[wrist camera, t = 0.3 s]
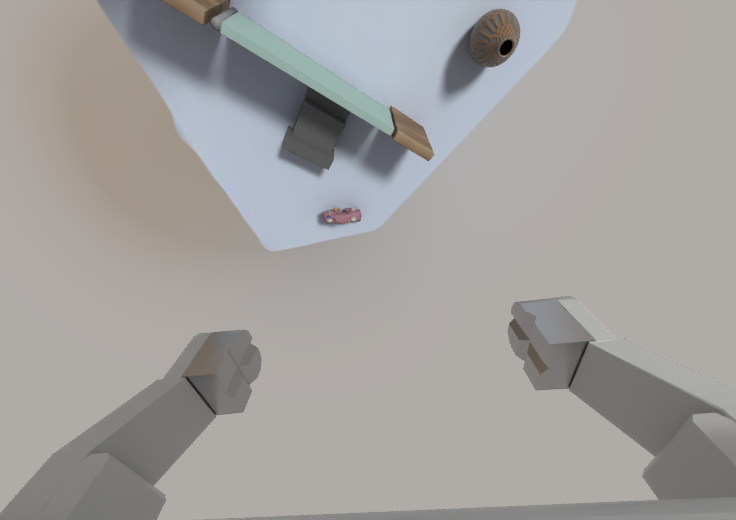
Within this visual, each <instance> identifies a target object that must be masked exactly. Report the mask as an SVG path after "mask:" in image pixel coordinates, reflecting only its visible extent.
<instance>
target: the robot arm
mask: <svg viewBox="0 0 736 520" xmlns="http://www.w3.org/2000/svg"><path fill="white" fill-rule="evenodd" d="M511 313H512V315H513V316H514V319H513V320H512V321H511V322H510V323H509V328H508V335H509V341H510V344H511V347H512V349H513V351H514V352H515V354H516V356H518V357H519V358H521V359H522V360H524V361H525V364H524V368H523V369H524V371H525V372H526V374H527V376H528V377H529V379H530V381H531V383H532V384H533V386H534V388H535V389H536V390H548V389H569V388H570V389H569V391H571V392H572V393H573V394H575V395H576V396H577V397H579V398H580V399H581V400H582V401H584V402H585V403H586V404H588V405H589V406H590V407H592V408H593V409H594V410H595V411H597V412H598V413H599V414H601V415H602V416H603V417H605V418H606V419H607V420H609V421H610V422H611V423H612V424H614V425H615V426H616V427H617V428H619V429H620V430H621V431H623V432H624V433H625V434H627V435H628V436H629V437H631V438H632V439H633V440H634V441H636V442H637V443H638V444H640V445H641V446H642V447H643V448H645V449H646V450H647V451H649V452H650V453H651V454H653V455H654V456H655V458H654V459H653V460H652V461H651V462H650V463H649V465H648V466H647V467H646V468H645V469H644V472H643V478H644V479H645V481H646V482H647V483H648V485H649V486H650V488H651V489H652V491H653V492H654V494H655V495H656V496H657V498H658V499H659V500H648V501H625V502H624V501H623V502H600V503H577V504H554V505H531V506H507V507H484V508H461V509H439V510H415V511H392V512H368V513H346V514H323V515H299V516H278V517H277V516H276V517H254V518H230V519H208V520H736V389H734V388H732V387H730V386H728V385H726V384H723V383H721V382H719V381H717V380H714V379H712V378H710V377H708V376H706V375H703V374H701V373H699V372H697V371H695V370H692V369H690V368H688V367H686V366H683V365H681V364H679V363H677V362H674V361H673V360H670V359H668V358H666V357H664V356H661V355H659V354H657V353H655V352H652V351H650V350H648V349H646V348H644V347H641V346H639V345H637V344H635V343H633V342H630V341H628V340H626V339H617V338H616V337H615V336H614V335H613V334H612V333H611V332H610V331H609V330H608V329H607V328H606V327H605V326H604V325H603V324H602V323H600V321H599V320H598V319H597V318H596V317H594V316H593V315H592V314H591V313H590V312H589V311H588V310H587V309H586V308H585V307H584V306H583V305H582V304H581V303H580V302H579V301H578V300H577V299H576V298H574V297H572V296H566V297H557V298H551V299H540V300H531V301H522V302H515V303H514V304H513V306H512V310H511ZM251 340H252V337H251V335H250V333H249V331H247V330H235V331H222V332H213V333H200V334H198V335H196V336H194V338H193V339H192V340H191V341H190V343H189V344H188V345H187V347H186V348H185V349H184V351H183V352H182V354H181V355H180V356H179V358H178V359H177V360H176V362H175V363H174V365H173V366H172V367H171V368H170V370H169V371H168V373H167V374H166V375H165V376H164V378H163V379H161V380H157V381H155V382H154V383H153V384H151V385H149V386H148V387H147V388H145V389H144V390H142V391H141V392H140V393H138V394H137V395H136V396H134V397H133V398H131V399H130V400H128V401H127V402H126V403H124V404H123V405H121V406H120V407H119V408H117V409H116V410H114V411H113V412H112V413H110V414H109V415H107V416H106V417H105V418H103V419H102V420H100V421H99V422H97V423H96V424H95V425H93V426H92V427H90V428H89V429H88V430H86V431H85V432H83V433H82V434H81V435H79V436H78V437H77V438H75V439H74V440H72V441H71V442H69V443H68V444H67V445H65V446H64V447H62V448H61V449H60V450H58V451H57V452H55V453H54V454H52V456H51V457H50V458H49V459H48V460H47V461H46V462H45V463H44V465H43V466H42V467H41V468H40V469H39V470H38V471H37V473H36V474H35V475H34V476H33V477H32V478H31V479H30V480H29V481H28V483H27V484H26V485H25V486H24V487H23V488H22V489H21V490H20V492H19V493H18V494H17V495H16V496H15V497H14V498H13V499H12V501H11V502H10V503H9V504H8V505H7V506H6V507H5V509H4V510H3V511H2V512H1V513H0V520H157V517H158V515H159V513H160V511H161V509H162V507H163V505H164V503H165V501H166V498H165V494H163V493H162V492H161V491H159V490H158V489H157V488H155V487H154V485H155V484H156V482H157V481H158V480H159V479H160V478H161V477H162V476H163V475H164V474H165V472H166V471H167V470H168V469H169V468H170V467H171V466H172V465H173V464H174V463H175V461H176V460H177V459H178V458H179V457H180V456H181V455H182V454H183V453H184V451H185V450H186V449H187V448H188V447H189V446H190V445H191V444H192V443H193V441H195V439H196V438H197V437H198V436H199V435H200V434H201V433H202V432H203V431H204V429H205V428H206V427H207V426H208V425H209V424H210V423H211V422H212V421H213V419H214V418H215V417H216V416H215V415H222V414H232V413H241V412H244V409H245V407H246V404H247V402H248V399H249V397H250V394H251V392H252V390H251V387H250V384H251V383H252V382H253V381H254V380H255V379H256V378H257V377H258V374H259V372H260V367H261V356H260V352H259V350H258V348H257V347H256V346H254V345H252V344H251V343H250V342H251Z"/></svg>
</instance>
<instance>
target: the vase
mask: <svg viewBox="0 0 736 520" xmlns="http://www.w3.org/2000/svg"><path fill="white" fill-rule="evenodd" d="M519 38H520V26H519V22H518V20H517V18H516V16H515V15H514V14H513V13H512V12H510V11H508V10H505V9H495V10H492V11H490V12H488V13H486V14H485V15H483V16H482V17H481V18H480V19H479V20H478V22H477V23H476V24H475V26H474V28H473V30H472V32H471V35H470V41H469V49H470V53H471V56H472V58H473V59H474V61H475V62H476V63H478V64H479V65H481V66H483V67H495V66H498V65H500V64H502V63H504V62H505V61H506V60H507V59H508V58H509V57H510V56H511V55H512V54H513V52H514V51H515V49H516V47H517V45H518V42H519Z"/></svg>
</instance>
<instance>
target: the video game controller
mask: <svg viewBox="0 0 736 520" xmlns="http://www.w3.org/2000/svg"><path fill="white" fill-rule="evenodd" d="M323 219H324V221H325V222H326V223H327V224H328V223H338V224H344V223H347V222H353V221H358V222H360V220H361V213H360V210H359V209H355V207H352V208H346V209H344V212H340V209H337V208H334V209H332V210H329V211H324V212H323Z"/></svg>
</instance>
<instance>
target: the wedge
mask: <svg viewBox="0 0 736 520" xmlns="http://www.w3.org/2000/svg"><path fill="white" fill-rule="evenodd" d="M349 112H350V111H348V110H347V109H345V108H344V107H342V106H340V105H339V104H337V103H335V102H334V101H332V100H330V99H329V98H327V97H325V96H324V95H322V94H320V93H319V92H317V91H316V90H314V89H312V88H311V87H309V89H308V92H307V95H306V97H305V100H304V102H303V105H302V108H301V110H300V113H299V116H298V118H297V121H296V123H295V126H294V128H292V127H290V126H288V129H287V132H286V135H285V137H284V140H283V144H282V148H284V149H286V150H288V151H290V152H293V153H295V154H297V155H299V156H301V157H303V158H305V159H307V160H309V161H311V162H313V163H315V164H317V165H319V166H321V167H324V168H326V169H328V170H329V168H330V166H331V164H332V162H333V160H334V149H333V147H334V145H335V143H336V141H337V140H338V138H339V136H340V134H341V132H342V130H343V128H344V126H345V120H346V118H347V116H348V114H349Z"/></svg>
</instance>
